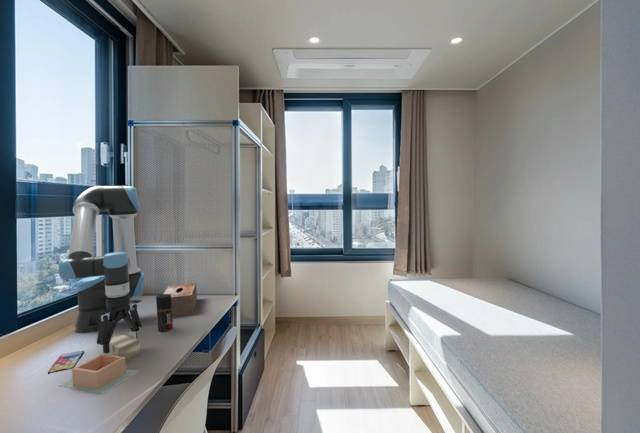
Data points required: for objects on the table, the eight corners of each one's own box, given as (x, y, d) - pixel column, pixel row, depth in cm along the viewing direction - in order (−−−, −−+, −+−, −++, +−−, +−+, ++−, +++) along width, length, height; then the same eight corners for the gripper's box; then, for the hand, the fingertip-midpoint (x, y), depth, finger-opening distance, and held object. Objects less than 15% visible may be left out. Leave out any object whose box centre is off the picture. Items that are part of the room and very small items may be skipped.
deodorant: (167, 332, 140) (165, 298, 139) (154, 331, 141) (152, 297, 141) (175, 327, 146) (173, 294, 145) (164, 326, 147) (162, 293, 146)
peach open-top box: (72, 384, 100) (71, 369, 100) (102, 368, 110) (101, 354, 109) (97, 389, 97) (96, 372, 97) (126, 372, 107) (125, 357, 106)
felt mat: (58, 387, 100) (58, 385, 100) (98, 366, 112) (98, 364, 112) (103, 395, 95) (103, 393, 95) (139, 372, 107) (139, 371, 107)
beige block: (103, 356, 120) (102, 341, 120) (123, 348, 126) (122, 334, 126) (120, 363, 114) (119, 348, 114) (140, 355, 120) (139, 340, 120)
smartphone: (84, 350, 124) (73, 367, 110) (85, 352, 124) (73, 370, 110) (61, 354, 121) (46, 373, 107) (61, 357, 121) (46, 375, 107)
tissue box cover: (169, 303, 183) (168, 285, 182) (196, 300, 187) (195, 283, 186) (161, 318, 158) (160, 298, 158) (192, 314, 162) (191, 295, 162)
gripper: (97, 304, 107) (101, 370, 108) (149, 287, 128) (153, 342, 129) (80, 303, 109) (85, 368, 110) (135, 286, 130) (138, 340, 132)
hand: (121, 354), depth 120 cm, fingers open, 9 cm apart
